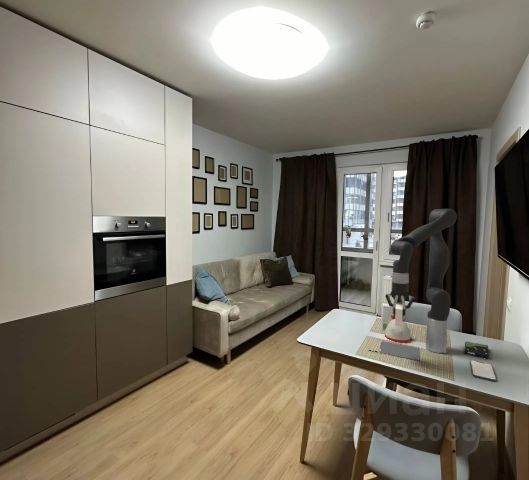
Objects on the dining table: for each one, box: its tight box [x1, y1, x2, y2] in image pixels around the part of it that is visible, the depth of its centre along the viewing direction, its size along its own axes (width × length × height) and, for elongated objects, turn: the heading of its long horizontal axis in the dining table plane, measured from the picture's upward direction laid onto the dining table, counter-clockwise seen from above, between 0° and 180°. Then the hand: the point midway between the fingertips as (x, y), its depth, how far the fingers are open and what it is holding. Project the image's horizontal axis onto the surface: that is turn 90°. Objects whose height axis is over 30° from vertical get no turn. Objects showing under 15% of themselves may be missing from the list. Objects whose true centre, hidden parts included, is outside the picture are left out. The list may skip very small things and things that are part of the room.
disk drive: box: [463, 340, 490, 360], centre depth 155 cm, size 10×3×15 cm
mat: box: [379, 340, 420, 362], centre depth 156 cm, size 24×16×1 cm, turn 63°
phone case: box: [469, 359, 498, 383], centre depth 134 cm, size 9×2×16 cm
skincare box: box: [380, 302, 393, 331], centre depth 185 cm, size 8×7×16 cm
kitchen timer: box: [384, 314, 412, 344], centre depth 171 cm, size 14×14×15 cm
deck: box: [395, 302, 404, 327], centre depth 145 cm, size 3×7×10 cm, turn 153°
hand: (399, 315), depth 146 cm, fingers closed on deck, 3 cm apart
